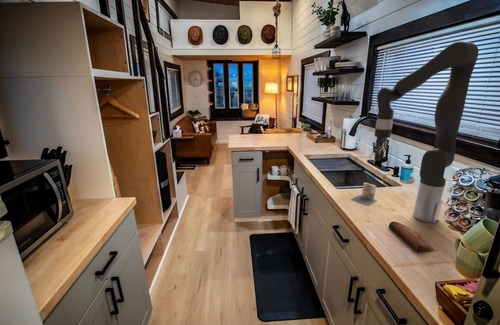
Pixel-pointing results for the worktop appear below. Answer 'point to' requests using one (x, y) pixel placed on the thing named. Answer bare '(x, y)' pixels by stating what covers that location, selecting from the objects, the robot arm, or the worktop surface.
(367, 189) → the tile
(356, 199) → the mat
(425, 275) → the worktop surface
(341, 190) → the worktop surface
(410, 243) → the sunglasses case
